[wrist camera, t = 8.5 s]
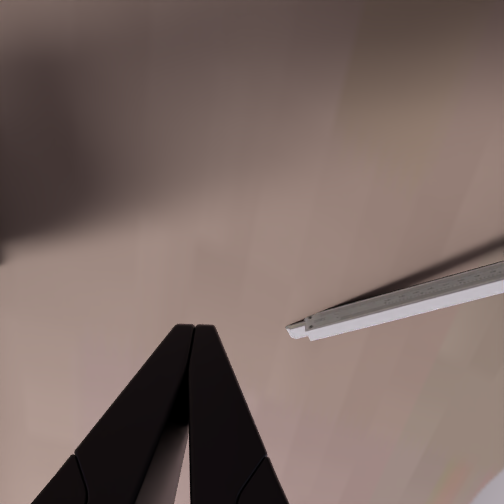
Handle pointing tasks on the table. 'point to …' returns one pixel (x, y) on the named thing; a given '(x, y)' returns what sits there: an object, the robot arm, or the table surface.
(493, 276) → the caliper
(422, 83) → the table surface
